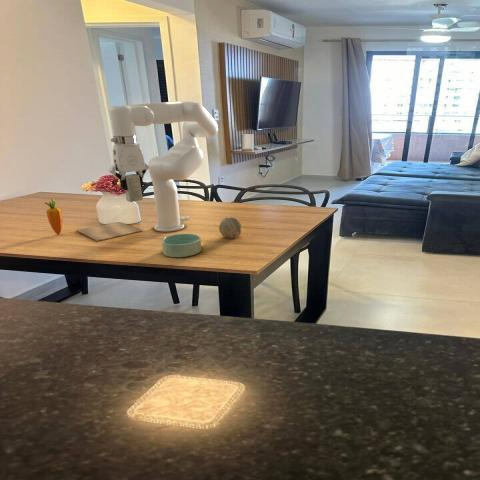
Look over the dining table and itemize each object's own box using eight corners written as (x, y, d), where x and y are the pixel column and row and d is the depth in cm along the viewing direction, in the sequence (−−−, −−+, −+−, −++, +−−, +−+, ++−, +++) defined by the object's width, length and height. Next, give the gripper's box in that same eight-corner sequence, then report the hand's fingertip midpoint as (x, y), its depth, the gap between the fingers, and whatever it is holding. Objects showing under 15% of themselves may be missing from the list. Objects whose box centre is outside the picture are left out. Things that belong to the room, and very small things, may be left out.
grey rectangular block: (139, 198, 153) (135, 173, 150) (143, 200, 150) (140, 175, 147) (125, 200, 150) (121, 174, 147) (129, 202, 147) (125, 176, 144)
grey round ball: (241, 242, 162) (248, 222, 158) (224, 243, 155) (231, 222, 152) (229, 231, 167) (235, 211, 163) (212, 232, 160) (218, 211, 157)
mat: (119, 222, 177) (119, 221, 177) (141, 231, 165) (141, 230, 165) (77, 231, 164) (77, 230, 164) (97, 241, 152) (97, 240, 152)
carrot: (58, 237, 156) (51, 201, 151) (48, 236, 157) (40, 200, 152) (68, 233, 160) (61, 198, 156) (58, 232, 161) (51, 197, 156)
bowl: (188, 243, 152) (187, 231, 151) (208, 251, 144) (207, 238, 143) (155, 252, 142) (154, 239, 141) (176, 261, 134) (174, 247, 133)
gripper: (107, 142, 134) (115, 193, 140) (152, 140, 147) (158, 186, 153) (97, 141, 138) (105, 190, 144) (141, 138, 151) (147, 184, 157)
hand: (132, 187), depth 149 cm, fingers closed on grey rectangular block, 5 cm apart
